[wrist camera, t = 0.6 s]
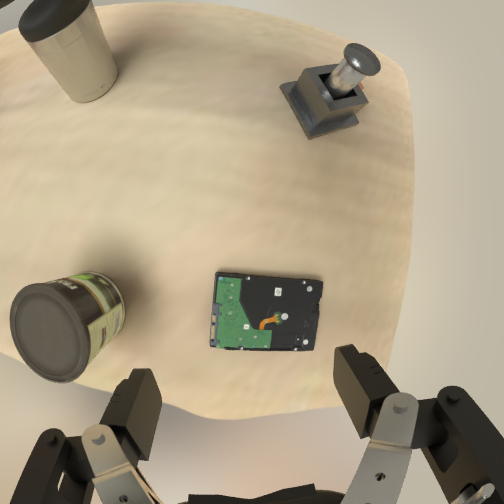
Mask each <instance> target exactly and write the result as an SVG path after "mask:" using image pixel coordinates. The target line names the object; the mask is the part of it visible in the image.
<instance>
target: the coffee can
mask: <svg viewBox="0 0 504 504" xmlns="http://www.w3.org/2000/svg"><path fill="white" fill-rule="evenodd" d="M124 318H125V306H124V301H123V298H122V296H121V294H120V292H119V290H118V288H117V287H116V286H115V284H114V283H113V282H112V281H111V280H109V279H108V278H107V277H105V276H103V275H101V274H99V273H95V272H84V273H81V274H79V275H75V276H70V277H66V278H62V279H58V280H54V281H49V282H45V283H36V284H31V285H28V286H26V287H24V288H23V289H21V290H20V291H19V292H18V294H17V295H16V297H15V298H14V300H13V302H12V306H11V310H10V329H11V334H12V338H13V341H14V344H15V346H16V348H17V350H18V352H19V354H20V356H21V357H22V359H23V360H24V361H25V363H26V364H27V365H28V366H29V367H30V368H31V369H32V370H33V371H34V372H35V373H37V374H38V375H39V376H41V377H42V378H44V379H46V380H48V381H51V382H55V383H68V382H71V381H74V380H75V379H77V378H78V377H79V376H80V375H81V374H82V373H83V371H84V370H85V368H86V366H87V365H88V364H89V363H90V362H91V361H92V360H93V359H94V358H95V357H96V356H97V354H98V353H99V352H100V351H101V350H102V349H103V348H104V347H105V346H106V345H107V344H108V343H109V342H110V340H111V339H112V338H113V337H115V336H116V335H117V334H118V333H119V331H120V330H121V328H122V326H123V323H124Z"/></svg>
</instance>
